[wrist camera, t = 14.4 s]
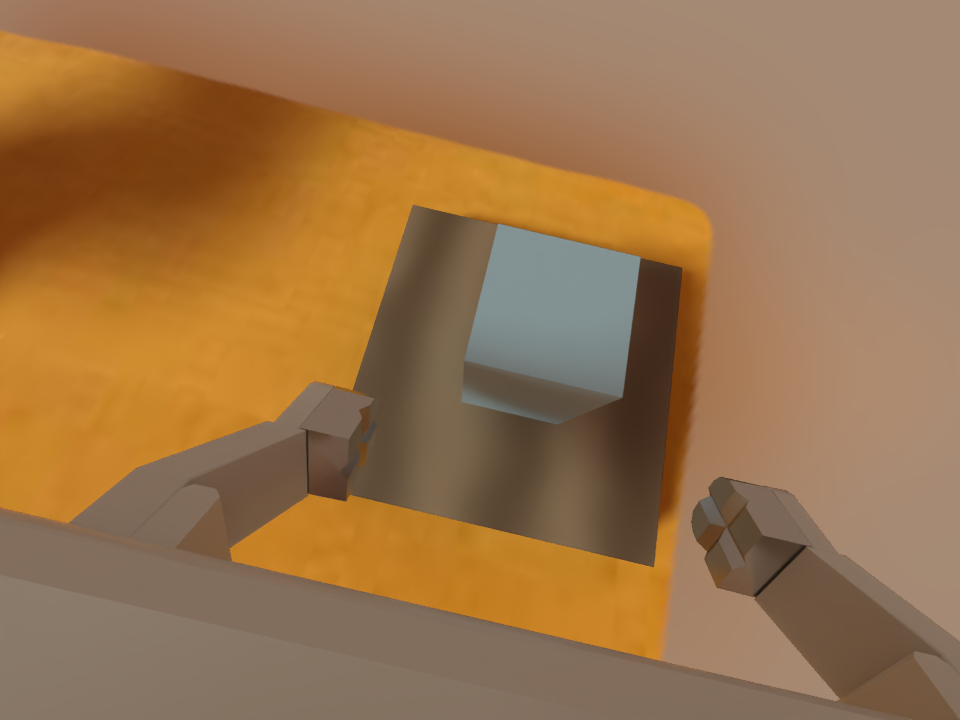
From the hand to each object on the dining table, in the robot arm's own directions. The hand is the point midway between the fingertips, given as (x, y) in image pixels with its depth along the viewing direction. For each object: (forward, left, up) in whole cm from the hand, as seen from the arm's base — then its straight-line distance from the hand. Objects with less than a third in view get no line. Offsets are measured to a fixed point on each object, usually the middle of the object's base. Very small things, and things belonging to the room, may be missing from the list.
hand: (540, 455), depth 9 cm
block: (0, +5, -10) cm, 11 cm away
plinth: (0, +5, -14) cm, 15 cm away
